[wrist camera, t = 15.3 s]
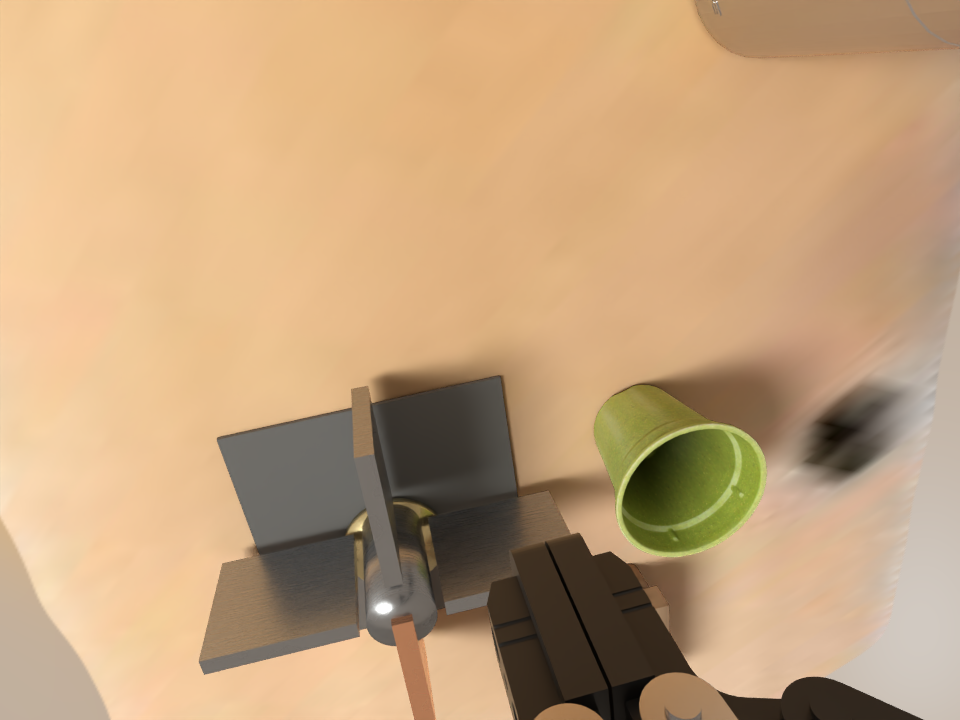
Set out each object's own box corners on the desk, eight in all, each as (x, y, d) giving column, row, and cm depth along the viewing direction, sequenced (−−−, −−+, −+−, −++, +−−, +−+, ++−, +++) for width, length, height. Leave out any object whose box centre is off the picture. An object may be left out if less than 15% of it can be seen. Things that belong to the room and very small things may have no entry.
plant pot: (662, 488, 49) (724, 567, 41) (550, 467, 46) (593, 548, 38) (716, 378, 45) (794, 440, 38) (599, 348, 43) (657, 409, 35)
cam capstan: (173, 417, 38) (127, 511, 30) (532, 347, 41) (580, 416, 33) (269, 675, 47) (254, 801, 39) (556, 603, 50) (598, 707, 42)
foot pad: (499, 375, 42) (502, 380, 41) (530, 588, 50) (533, 595, 49) (217, 437, 40) (215, 444, 39) (296, 649, 48) (295, 658, 47)
